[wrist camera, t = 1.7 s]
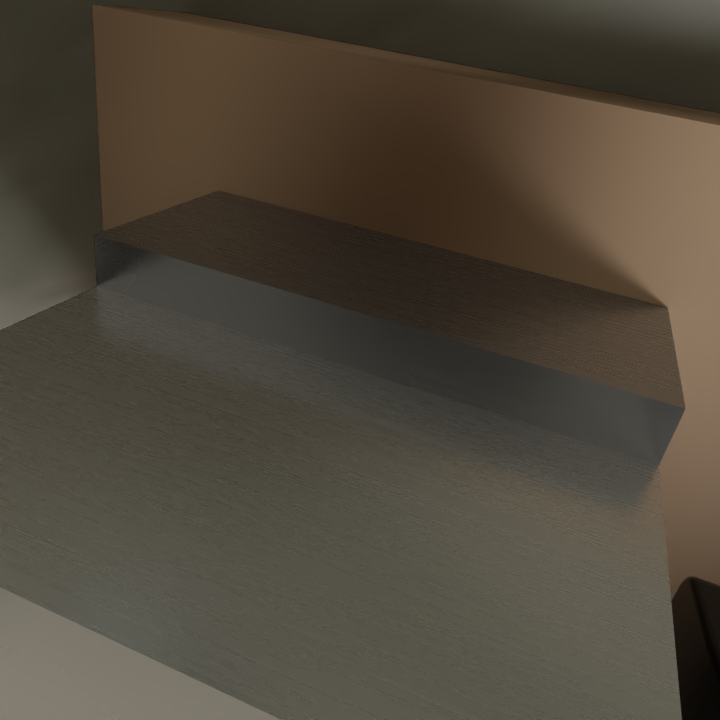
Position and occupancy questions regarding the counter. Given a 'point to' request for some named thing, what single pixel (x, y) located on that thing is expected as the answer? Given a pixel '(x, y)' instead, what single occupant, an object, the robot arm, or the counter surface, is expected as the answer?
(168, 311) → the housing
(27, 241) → the counter surface
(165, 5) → the counter surface
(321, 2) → the counter surface
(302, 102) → the stand
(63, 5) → the counter surface
